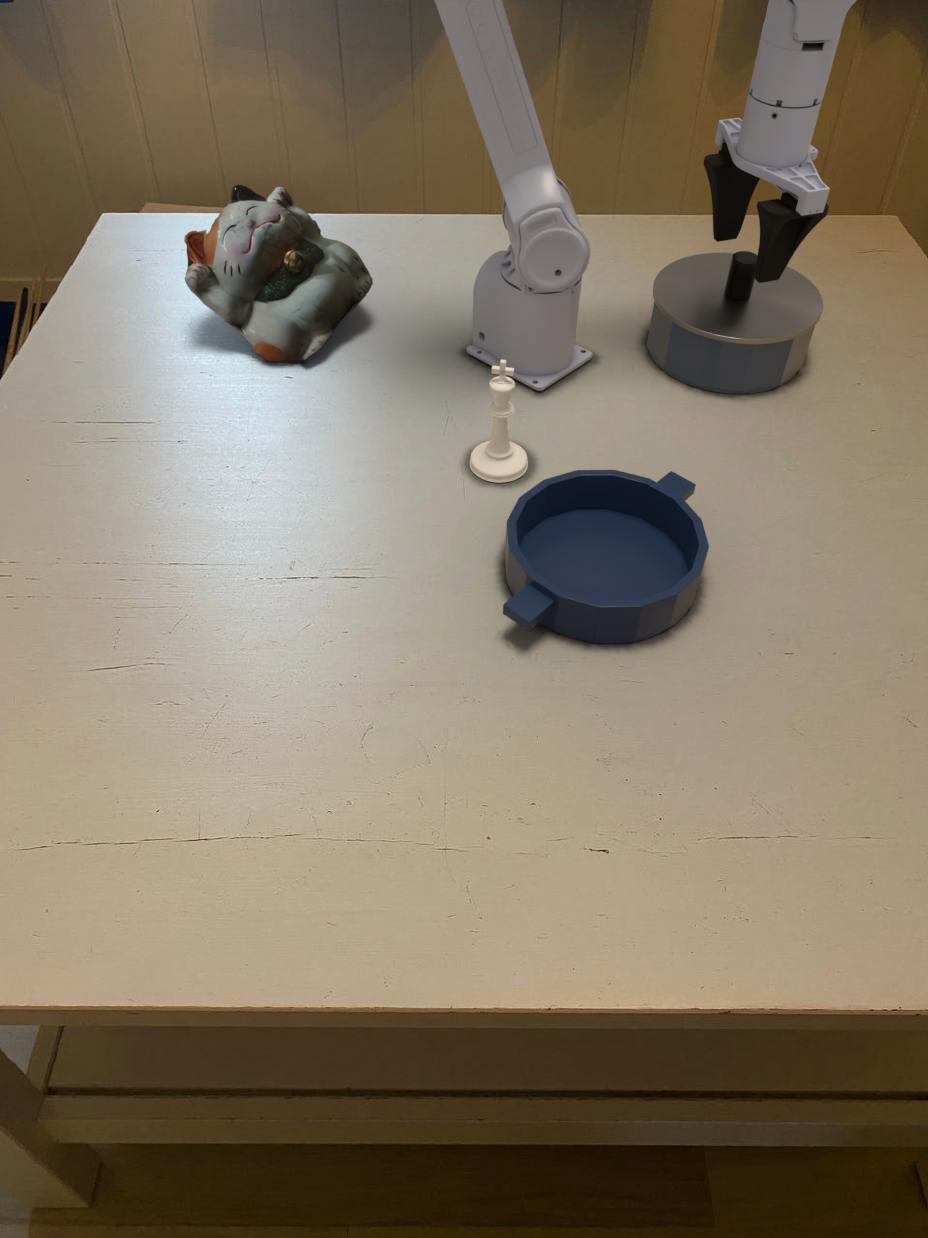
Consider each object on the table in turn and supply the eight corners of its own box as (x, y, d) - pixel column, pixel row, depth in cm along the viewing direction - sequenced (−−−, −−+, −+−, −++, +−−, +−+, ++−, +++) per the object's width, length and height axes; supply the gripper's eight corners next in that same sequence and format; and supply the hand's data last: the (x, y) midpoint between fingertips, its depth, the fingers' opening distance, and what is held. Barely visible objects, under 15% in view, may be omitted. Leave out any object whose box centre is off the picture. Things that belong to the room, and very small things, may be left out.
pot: (617, 350, 91) (624, 299, 87) (702, 293, 98) (713, 244, 94) (747, 413, 84) (761, 361, 80) (828, 348, 92) (846, 297, 88)
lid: (630, 326, 85) (637, 278, 82) (676, 250, 94) (685, 204, 91) (802, 366, 81) (817, 318, 78) (833, 283, 90) (848, 237, 87)
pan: (440, 591, 70) (440, 553, 67) (605, 467, 79) (611, 430, 76) (594, 700, 63) (600, 663, 60) (753, 551, 73) (766, 513, 70)
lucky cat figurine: (286, 383, 87) (189, 249, 78) (235, 373, 96) (143, 252, 88) (398, 283, 90) (316, 145, 82) (338, 282, 100) (259, 158, 91)
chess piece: (522, 486, 78) (530, 383, 70) (464, 478, 78) (465, 375, 71) (532, 449, 81) (539, 347, 73) (475, 442, 81) (477, 339, 74)
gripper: (883, 123, 70) (829, 291, 81) (782, 57, 80) (745, 215, 90) (800, 135, 69) (755, 304, 79) (707, 66, 78) (678, 226, 88)
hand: (745, 258), depth 84 cm, fingers open, 7 cm apart
